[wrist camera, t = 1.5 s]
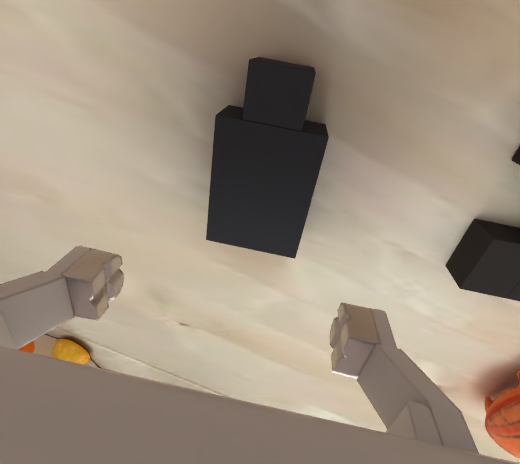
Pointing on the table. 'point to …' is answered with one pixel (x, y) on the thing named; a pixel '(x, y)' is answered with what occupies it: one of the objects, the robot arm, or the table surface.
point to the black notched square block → (489, 258)
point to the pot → (505, 420)
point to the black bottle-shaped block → (266, 161)
